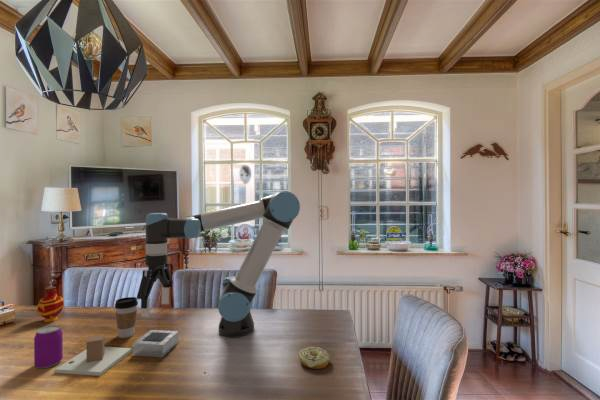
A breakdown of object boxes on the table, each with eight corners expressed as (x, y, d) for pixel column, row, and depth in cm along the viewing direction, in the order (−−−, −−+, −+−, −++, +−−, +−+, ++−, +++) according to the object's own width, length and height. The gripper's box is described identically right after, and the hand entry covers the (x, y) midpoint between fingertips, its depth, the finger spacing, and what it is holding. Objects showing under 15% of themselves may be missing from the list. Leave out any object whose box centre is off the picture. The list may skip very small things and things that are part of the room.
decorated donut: (311, 374, 103) (311, 363, 103) (293, 360, 112) (293, 349, 112) (335, 365, 109) (335, 354, 109) (316, 352, 118) (316, 342, 118)
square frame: (178, 342, 125) (178, 331, 125) (162, 357, 113) (162, 344, 113) (150, 341, 126) (150, 329, 126) (132, 355, 114) (132, 343, 114)
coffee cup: (127, 340, 126) (127, 303, 126) (109, 338, 128) (109, 301, 128) (142, 331, 135) (142, 296, 134) (125, 329, 136) (125, 295, 136)
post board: (131, 351, 117) (131, 329, 117) (100, 375, 101) (100, 350, 101) (91, 349, 119) (91, 327, 119) (54, 372, 103) (54, 347, 103)
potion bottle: (68, 318, 148) (68, 286, 148) (41, 326, 140) (41, 292, 139) (59, 313, 154) (59, 283, 154) (32, 320, 145) (32, 288, 145)
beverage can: (31, 364, 108) (31, 329, 108) (59, 355, 114) (59, 322, 114) (37, 372, 103) (36, 335, 103) (65, 362, 109) (65, 328, 109)
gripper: (164, 248, 132) (163, 298, 132) (125, 260, 107) (125, 322, 107) (181, 248, 131) (181, 299, 131) (146, 260, 106) (146, 323, 107)
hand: (155, 309), depth 119 cm, fingers open, 13 cm apart
